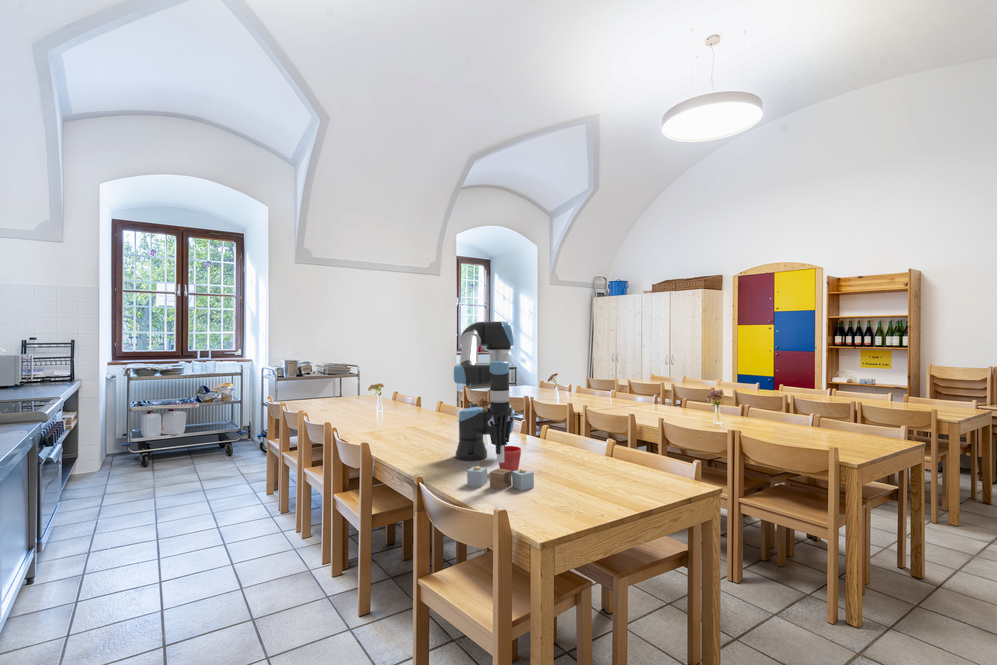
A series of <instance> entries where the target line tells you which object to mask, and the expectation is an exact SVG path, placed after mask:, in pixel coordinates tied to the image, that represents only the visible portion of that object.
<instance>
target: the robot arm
mask: <svg viewBox="0 0 997 665" xmlns="http://www.w3.org/2000/svg"><path fill="white" fill-rule="evenodd" d="M513 334H514V333H513V328H512V325H511V323H510V322H509V321H501V320H500V321H477V322H474V323H471V324H470V325H468V326H467V327H466V328H465V329H464V330H463V331H462V333H461V334H460V339H459V340H460V346H461V348H460V349H461V352H460V361H459V364H457V365H455V366H454V367H453V381H454V383H456V384H457V385H459V384H460V385H467V384H468V385H469V384H470V385H471V384H476V385H477V384H489V387H490V388H489V400H490V403H489V404H488V405H487V409H486V410H485V409H484V408H483V407H482V406H474V407H467V408H464V409H461V410H460V411H459V413H458V444H457V448H456V451H455V458H456V459H457V460H460V461H480V460H483V459H486V458H487V457H488V450H487V448H486V444H485V442H484V435H485V436H489V437H490V442H491V445H493V446H495V454H496V463H499V462H500V463H503V462H504V453H505V446H508V443H509V442H510V437H511V436H510V435H511V434H512V433H513V429H514V424H515V409H513V408H512V405H511V404H510V402H509V401H510V364H509V361H508V360H509V358H508V357H509V352H510V351H511V350H512V347H513V346H514V344H515V343H514V335H513ZM479 347H486V351H487V352H489V353H488V354H489V364H478V363H479Z"/></svg>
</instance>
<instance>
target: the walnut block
mask: <svg viewBox="0 0 997 665" xmlns="http://www.w3.org/2000/svg"><path fill="white" fill-rule="evenodd" d="M510 487H512V473H511V470H505V469H500V468H497V469H494V470H491V471H490V472H489V488H493V489H495V490H496V489H497V490H502V491H503V490H506V489H507V488H510Z"/></svg>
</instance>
